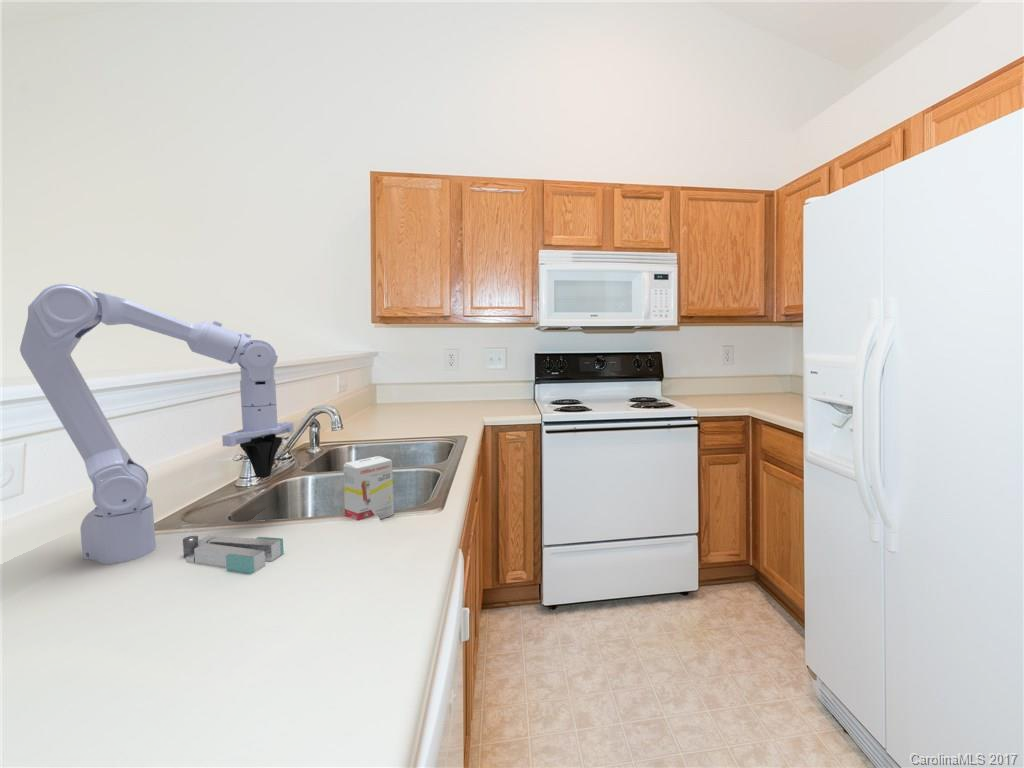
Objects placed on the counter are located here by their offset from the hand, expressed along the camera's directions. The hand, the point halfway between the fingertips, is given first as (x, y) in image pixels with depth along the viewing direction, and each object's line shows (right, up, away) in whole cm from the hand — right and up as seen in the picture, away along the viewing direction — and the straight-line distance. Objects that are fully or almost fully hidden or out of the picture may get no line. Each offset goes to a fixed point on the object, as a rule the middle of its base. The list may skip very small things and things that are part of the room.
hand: (263, 476), depth 85 cm
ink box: (+18, -10, +6) cm, 22 cm away
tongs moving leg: (+3, -10, -13) cm, 16 cm away
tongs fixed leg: (+2, -10, -15) cm, 18 cm away
